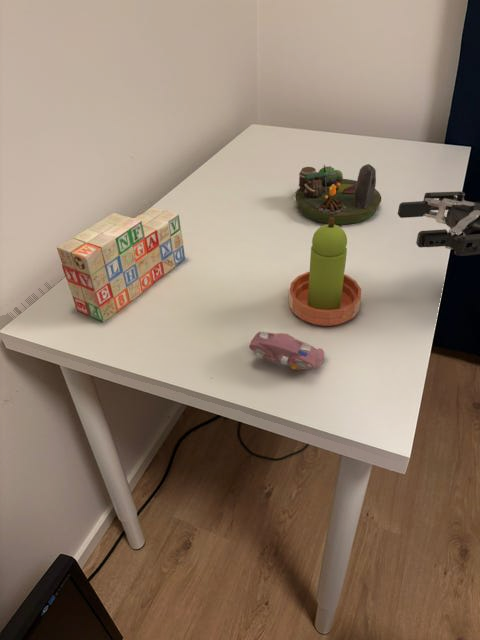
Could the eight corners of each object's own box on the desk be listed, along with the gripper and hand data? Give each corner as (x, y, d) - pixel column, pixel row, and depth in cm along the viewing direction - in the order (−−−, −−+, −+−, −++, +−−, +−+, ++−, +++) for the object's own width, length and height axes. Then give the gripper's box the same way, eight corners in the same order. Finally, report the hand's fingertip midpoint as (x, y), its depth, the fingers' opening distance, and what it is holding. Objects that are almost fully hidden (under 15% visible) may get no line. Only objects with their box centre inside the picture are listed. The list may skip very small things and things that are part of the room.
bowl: (373, 310, 76) (376, 294, 74) (319, 337, 72) (321, 321, 70) (327, 278, 84) (328, 262, 81) (275, 301, 79) (275, 285, 77)
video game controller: (252, 363, 70) (241, 345, 64) (263, 336, 72) (254, 315, 66) (317, 384, 67) (312, 366, 61) (327, 354, 68) (324, 334, 62)
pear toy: (347, 305, 77) (358, 219, 67) (322, 317, 75) (329, 230, 65) (325, 289, 80) (333, 205, 70) (300, 300, 78) (305, 215, 68)
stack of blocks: (160, 251, 93) (150, 190, 85) (186, 259, 90) (178, 197, 82) (75, 311, 79) (54, 245, 71) (103, 323, 76) (84, 256, 68)
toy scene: (348, 235, 94) (354, 184, 88) (277, 209, 104) (278, 160, 98) (395, 203, 104) (404, 154, 97) (326, 182, 114) (330, 136, 107)
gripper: (504, 172, 72) (397, 178, 72) (557, 217, 62) (431, 225, 61) (490, 217, 77) (389, 223, 77) (537, 266, 66) (419, 274, 66)
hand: (408, 224), depth 69 cm, fingers open, 8 cm apart
